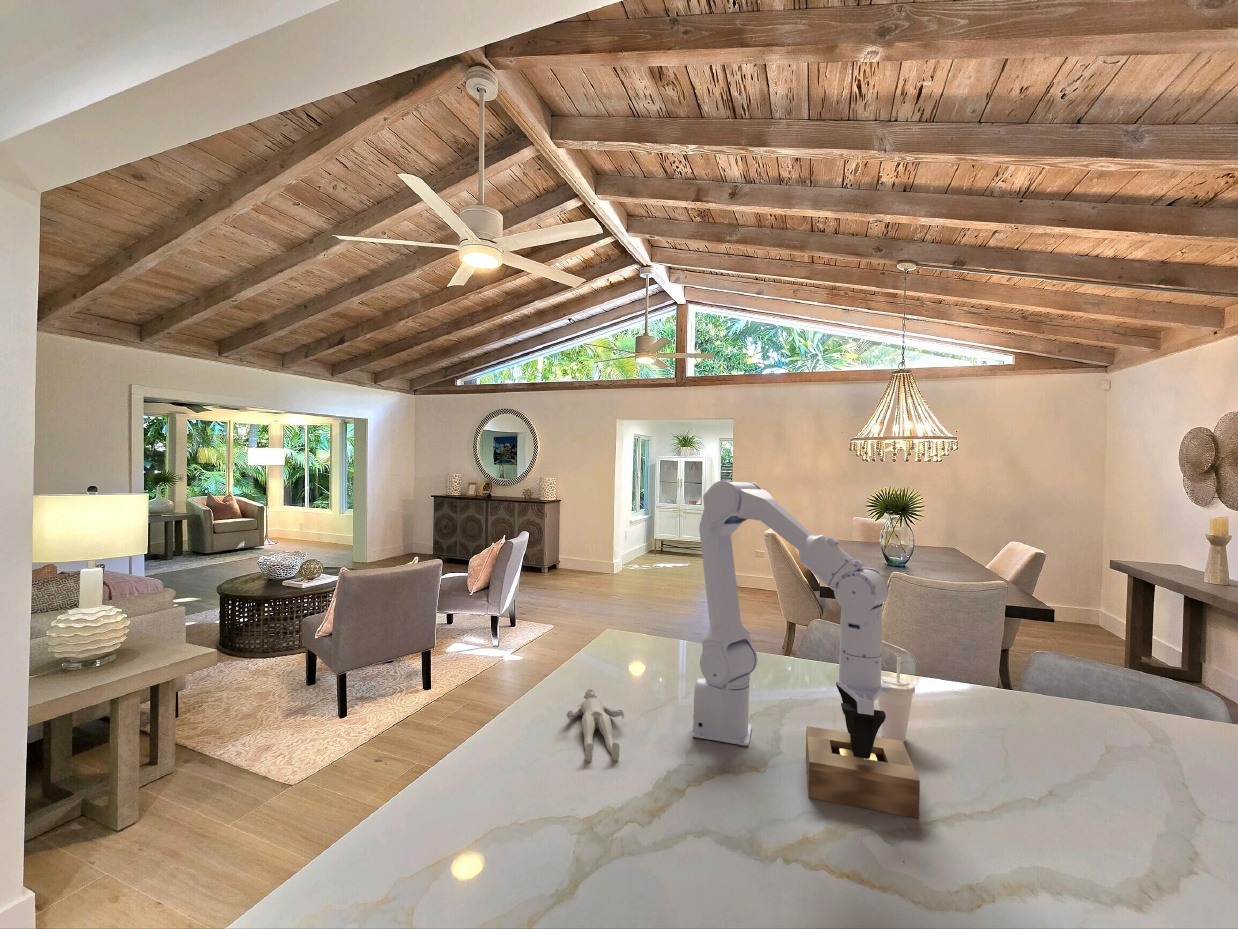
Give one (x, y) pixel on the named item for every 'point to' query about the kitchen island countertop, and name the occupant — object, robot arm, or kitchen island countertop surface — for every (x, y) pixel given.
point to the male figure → (596, 723)
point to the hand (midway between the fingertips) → (858, 744)
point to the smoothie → (896, 705)
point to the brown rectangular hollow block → (861, 774)
